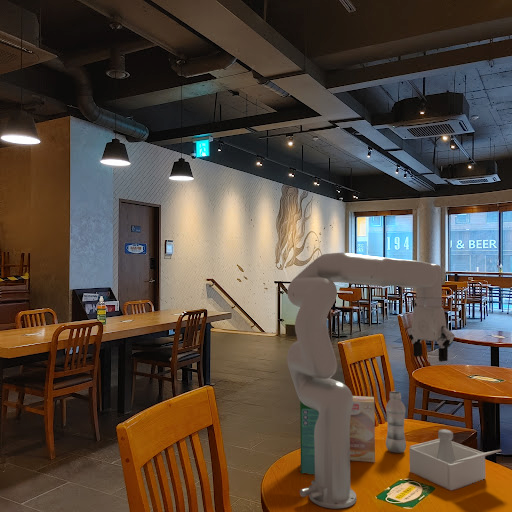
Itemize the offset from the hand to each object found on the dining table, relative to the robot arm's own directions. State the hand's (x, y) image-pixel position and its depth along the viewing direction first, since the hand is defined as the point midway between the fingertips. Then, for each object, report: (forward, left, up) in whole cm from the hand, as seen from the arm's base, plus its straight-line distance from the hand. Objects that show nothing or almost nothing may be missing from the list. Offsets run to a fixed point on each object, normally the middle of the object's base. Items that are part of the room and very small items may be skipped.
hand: (430, 358), depth 147 cm
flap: (+1, -15, -25) cm, 29 cm away
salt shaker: (+1, -4, -34) cm, 35 cm away
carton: (+1, -4, -34) cm, 35 cm away
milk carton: (-30, +19, -34) cm, 50 cm away
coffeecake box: (-14, +21, -34) cm, 43 cm away
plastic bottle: (+2, +17, -34) cm, 39 cm away
